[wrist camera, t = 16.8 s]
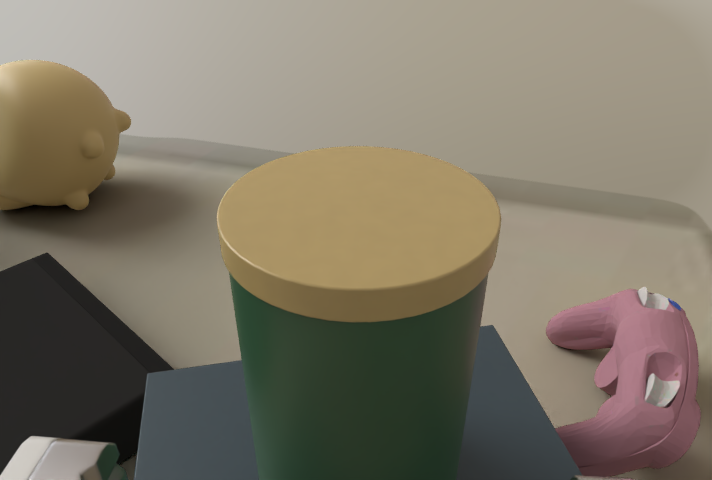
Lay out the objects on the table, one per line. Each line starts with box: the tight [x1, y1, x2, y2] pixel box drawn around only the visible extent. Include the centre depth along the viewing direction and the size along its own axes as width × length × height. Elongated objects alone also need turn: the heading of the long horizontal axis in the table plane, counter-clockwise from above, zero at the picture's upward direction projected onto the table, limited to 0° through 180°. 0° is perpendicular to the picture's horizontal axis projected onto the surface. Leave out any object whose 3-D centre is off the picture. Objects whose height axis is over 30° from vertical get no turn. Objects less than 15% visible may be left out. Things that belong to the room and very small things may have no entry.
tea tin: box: [217, 146, 501, 480], centre depth 16 cm, size 6×6×10 cm
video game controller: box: [546, 287, 701, 477], centre depth 27 cm, size 10×5×7 cm, turn 160°
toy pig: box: [0, 60, 131, 210], centre depth 44 cm, size 10×12×11 cm
